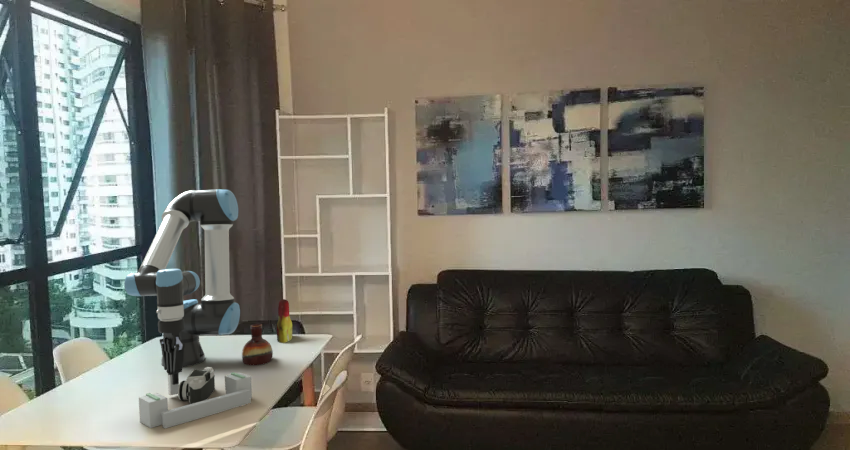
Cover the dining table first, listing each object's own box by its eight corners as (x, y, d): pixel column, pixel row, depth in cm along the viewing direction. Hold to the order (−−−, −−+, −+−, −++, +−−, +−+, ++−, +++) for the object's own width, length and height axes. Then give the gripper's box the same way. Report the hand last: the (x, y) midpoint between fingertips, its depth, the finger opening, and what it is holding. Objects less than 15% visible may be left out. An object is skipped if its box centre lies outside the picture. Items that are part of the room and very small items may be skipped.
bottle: (289, 349, 248) (287, 301, 247) (273, 350, 248) (272, 301, 247) (295, 342, 260) (293, 296, 259) (280, 343, 260) (278, 297, 259)
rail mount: (139, 422, 169) (138, 395, 169) (240, 394, 192) (239, 370, 191) (155, 431, 162) (154, 403, 162) (258, 401, 185) (257, 376, 184)
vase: (245, 372, 217) (243, 329, 216) (239, 364, 227) (238, 324, 226) (276, 367, 222) (274, 325, 221) (269, 360, 232) (267, 320, 231)
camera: (191, 391, 196) (190, 361, 195) (218, 390, 196) (217, 360, 196) (173, 408, 180) (172, 375, 179) (203, 407, 180) (201, 374, 180)
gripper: (150, 318, 190) (153, 392, 190) (168, 323, 181) (171, 401, 181) (173, 314, 195) (176, 387, 196) (192, 319, 186) (195, 395, 187)
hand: (174, 393), depth 189 cm, fingers closed
